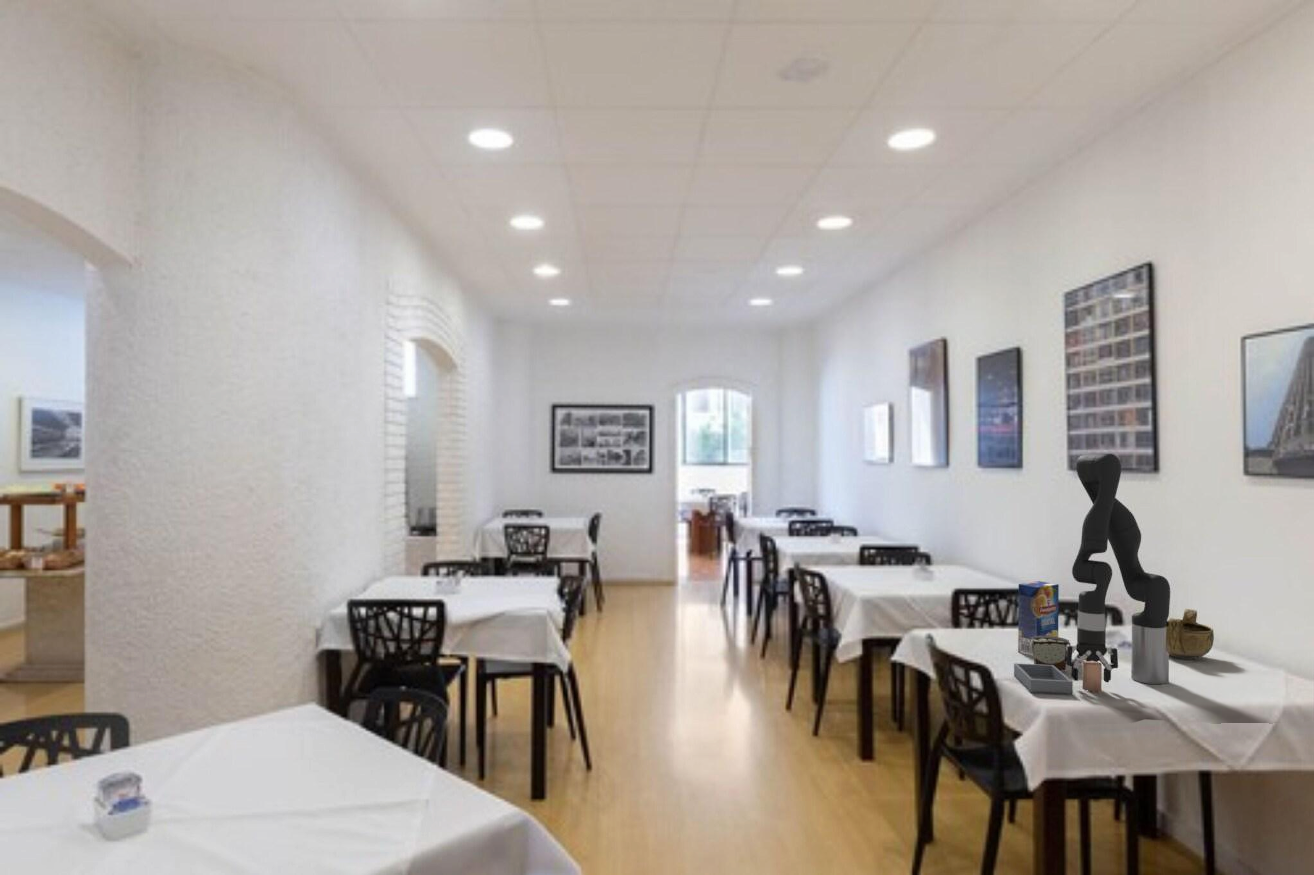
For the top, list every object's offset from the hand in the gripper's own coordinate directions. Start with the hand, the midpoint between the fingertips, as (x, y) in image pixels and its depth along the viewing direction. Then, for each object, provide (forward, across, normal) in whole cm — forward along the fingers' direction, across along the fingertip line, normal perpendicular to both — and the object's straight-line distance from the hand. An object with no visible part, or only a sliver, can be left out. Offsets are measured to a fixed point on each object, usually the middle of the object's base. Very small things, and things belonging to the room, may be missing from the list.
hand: (1090, 680), depth 245 cm
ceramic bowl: (+2, -45, -44) cm, 63 cm away
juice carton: (+3, +3, -42) cm, 42 cm away
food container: (+3, +6, -22) cm, 23 cm away
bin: (+3, +13, -2) cm, 14 cm away
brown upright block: (+3, 0, 0) cm, 3 cm away
